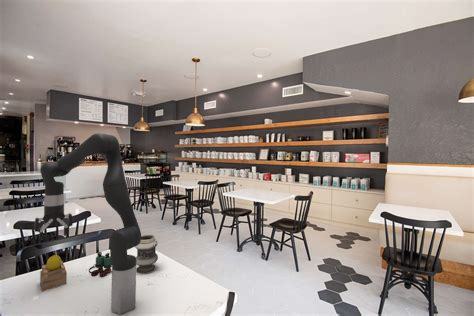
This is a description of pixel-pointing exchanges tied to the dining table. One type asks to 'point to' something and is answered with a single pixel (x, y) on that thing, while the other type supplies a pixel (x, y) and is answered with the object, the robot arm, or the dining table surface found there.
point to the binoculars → (101, 265)
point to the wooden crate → (53, 277)
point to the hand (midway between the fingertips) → (53, 237)
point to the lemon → (53, 263)
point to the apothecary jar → (146, 254)
